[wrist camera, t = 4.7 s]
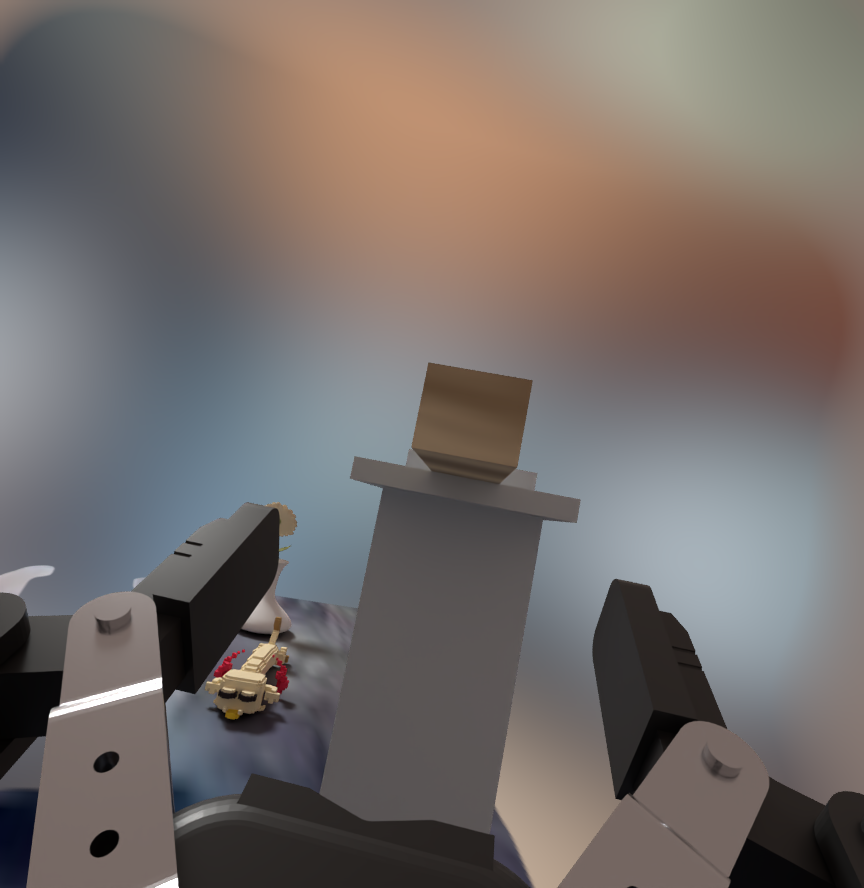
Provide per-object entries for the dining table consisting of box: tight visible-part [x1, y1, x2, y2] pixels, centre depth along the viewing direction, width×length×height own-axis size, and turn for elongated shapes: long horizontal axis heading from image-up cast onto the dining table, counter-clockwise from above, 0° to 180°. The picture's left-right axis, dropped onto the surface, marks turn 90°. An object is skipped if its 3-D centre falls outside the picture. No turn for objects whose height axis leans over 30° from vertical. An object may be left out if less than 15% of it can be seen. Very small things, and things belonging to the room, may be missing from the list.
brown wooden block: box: [412, 363, 532, 484], centre depth 31 cm, size 26×4×3 cm, turn 176°
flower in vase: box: [241, 502, 297, 634], centre depth 105 cm, size 13×11×25 cm
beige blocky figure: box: [205, 617, 289, 719], centre depth 76 cm, size 10×9×25 cm
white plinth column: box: [320, 449, 580, 834], centre depth 37 cm, size 22×14×35 cm, turn 176°
